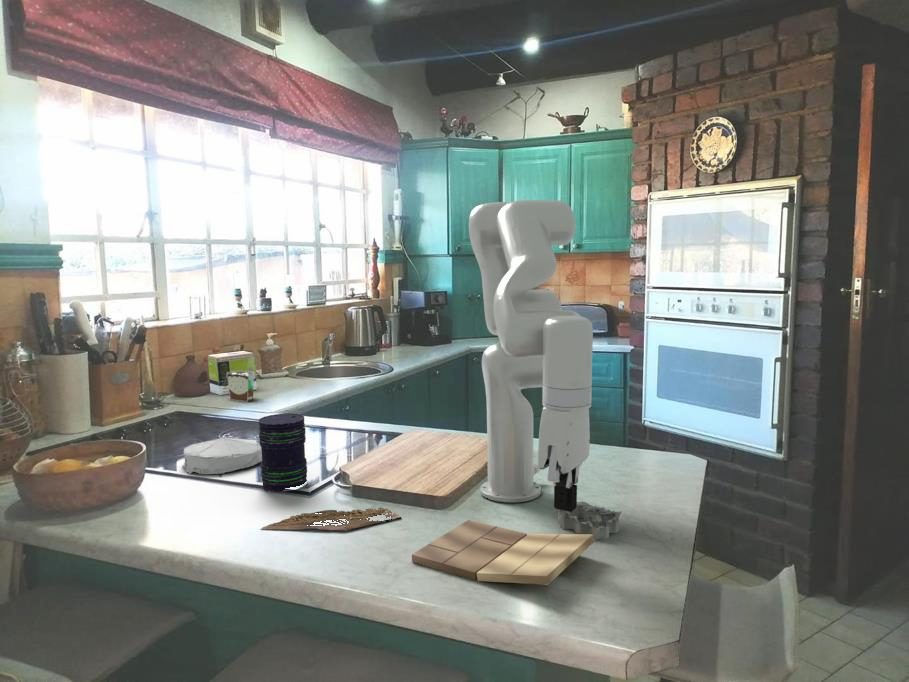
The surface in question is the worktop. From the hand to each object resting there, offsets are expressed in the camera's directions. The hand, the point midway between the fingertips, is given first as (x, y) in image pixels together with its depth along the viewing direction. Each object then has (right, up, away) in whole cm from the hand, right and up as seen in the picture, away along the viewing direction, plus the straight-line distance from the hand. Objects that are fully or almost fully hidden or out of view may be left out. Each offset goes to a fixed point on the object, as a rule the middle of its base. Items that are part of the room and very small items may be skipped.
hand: (565, 508), depth 106 cm
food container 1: (-74, -4, +58) cm, 95 cm away
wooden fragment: (-41, -8, +19) cm, 46 cm away
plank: (-5, -8, -1) cm, 9 cm away
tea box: (-103, +7, +152) cm, 183 cm away
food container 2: (-93, +5, +136) cm, 165 cm away
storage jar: (-55, -5, +41) cm, 69 cm away
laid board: (-15, -9, +6) cm, 18 cm away
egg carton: (+7, -8, +15) cm, 18 cm away
